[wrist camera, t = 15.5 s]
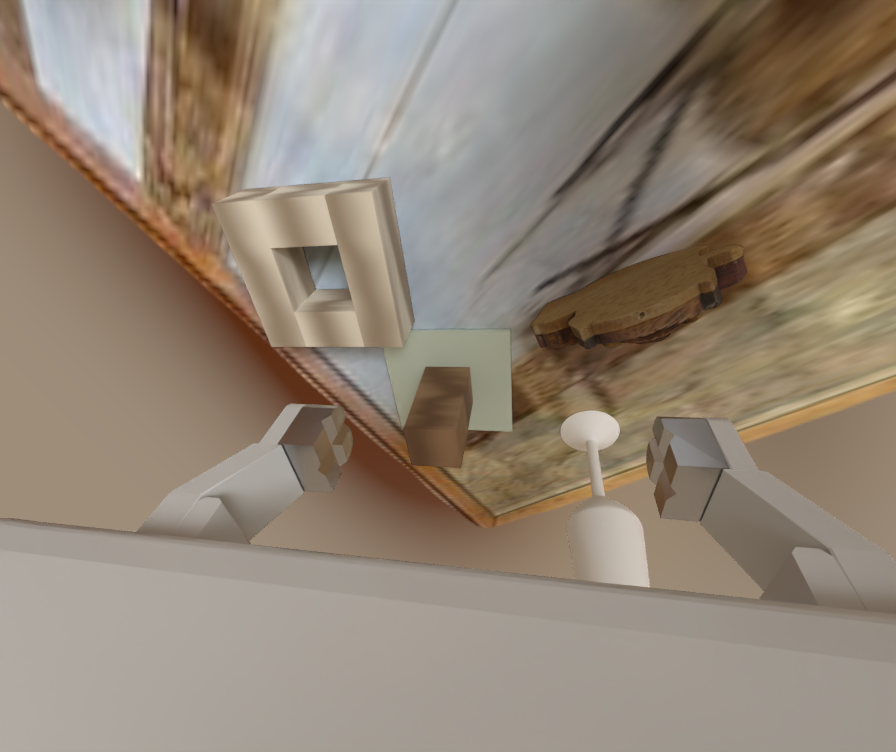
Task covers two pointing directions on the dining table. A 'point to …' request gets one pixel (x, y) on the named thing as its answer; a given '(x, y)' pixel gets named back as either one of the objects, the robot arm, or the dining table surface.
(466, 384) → the walnut peg
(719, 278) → the wooden carving
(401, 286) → the pocket block
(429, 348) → the sage mat
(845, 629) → the robot arm
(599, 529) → the champagne flute
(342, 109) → the dining table surface
